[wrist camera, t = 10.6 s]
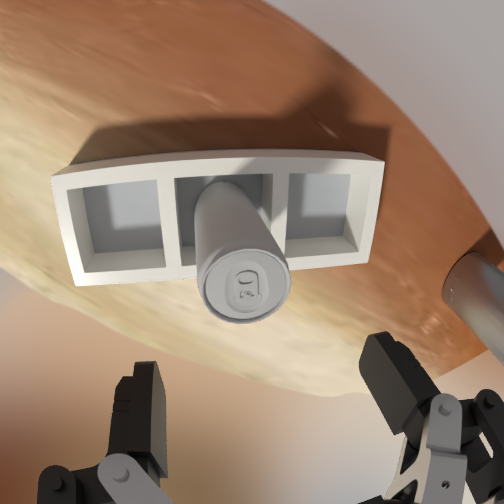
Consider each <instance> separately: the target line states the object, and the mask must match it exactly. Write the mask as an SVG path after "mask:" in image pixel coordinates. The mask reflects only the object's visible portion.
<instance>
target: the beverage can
mask: <svg viewBox="0 0 504 504" xmlns="http://www.w3.org/2000/svg"><path fill="white" fill-rule="evenodd" d="M194 223H195V249H196V267H197V284H198V289H199V292H200V295H201V297H202V299H203V302H204V305H205V306H206V308H207V309H208V310H209V312H210V313H212V314H213V315H214V316H216V317H217V318H218V319H221V320H223V321H226V322H228V323H235V324H248V323H253V322H257V321H260V320H262V319H265V318H267V317H269V316H270V315H272V314H273V313H274V312H276V311H277V310H278V309H279V308H280V307H281V306H282V304H283V303H284V302H285V300H286V298H287V296H288V294H289V292H290V286H291V277H290V272H289V267H288V263H287V261H286V259H285V257H284V255H283V253H282V251H281V249H280V247H279V246H278V244H277V242H276V241H275V239H274V237H273V236H272V234H271V233H270V231H269V229H268V228H267V226H266V225H265V223H264V222H263V220H262V219H261V217H260V215H259V214H258V212H257V210H256V209H255V207H254V205H253V204H252V202H251V200H250V198H249V197H248V195H247V193H246V192H245V191H244V190H243V189H242V188H241V187H240V186H238V185H237V184H234V183H231V182H218V183H214V184H212V185H210V186H208V187H207V188H206V189H205V190H204V191H203V192H202V193H201V194H200V196H199V197H198V199H197V202H196V204H195V210H194Z"/></svg>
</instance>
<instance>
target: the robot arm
mask: <svg viewBox="0 0 504 504" xmlns="http://www.w3.org/2000/svg"><path fill="white" fill-rule="evenodd" d="M442 296H443V300H444V302H445V303H446V304H447V305H448V306H449V307H450V308H451V309H452V310H453V311H454V312H455V313H456V314H457V315H458V316H459V318H460V319H461V320H462V321H463V322H464V323H465V324H466V325H467V326H468V327H469V328H470V329H471V330H472V331H473V332H474V334H475V335H476V336H477V337H478V338H479V339H480V340H481V341H482V342H483V343H484V344H485V346H486V347H487V348H488V349H489V350H490V351H491V352H492V353H493V355H494V356H495V357H496V358H497V359H498V360H499V361H500V363H501V364H502V365H503V366H504V272H502V271H501V270H500V269H499V268H497V267H496V266H495V265H494V264H492V263H491V262H490V261H488V260H487V259H486V258H484V257H483V256H482V255H480V254H479V253H477V252H471V253H469V254H467V255H465V256H464V257H462V258H461V259H460V260H459V261H458V262H457V263H456V265H455V266H454V267H453V269H452V270H451V271H450V273H449V275H448V277H447V279H446V281H445V284H444V287H443V293H442ZM420 365H421V364H420V363H419V362H418V360H417V359H415V356H414V355H413V353H412V352H411V351H410V349H409V348H408V347H406V346H405V345H404V344H402V343H401V342H399V341H395V340H394V339H393V337H392V336H391V335H390V333H389V332H387V331H384V332H380V333H375V334H371V335H369V336H368V337H367V339H366V342H365V345H364V348H363V351H362V354H361V357H360V360H359V370H360V373H361V376H362V377H363V379H364V381H365V383H366V385H367V386H368V388H369V390H370V392H371V394H372V395H373V397H374V399H375V401H376V403H377V405H378V406H379V408H380V410H381V412H382V414H383V416H384V418H385V419H386V421H387V423H388V425H389V427H390V429H391V431H392V432H393V434H394V435H396V434H399V433H402V432H404V433H405V435H406V436H405V438H404V440H403V445H402V449H401V454H400V458H399V463H398V466H397V470H396V474H395V477H394V480H393V481H392V483H391V485H390V486H389V488H388V490H387V492H386V495H385V498H384V499H383V498H382V496H381V495H379V496H377V497H374V498H372V499H369V500H367V501H364V502H361V503H358V504H462V499H463V493H464V486H465V480H466V483H467V485H468V487H469V489H470V491H471V493H472V495H473V498H474V500H475V502H476V504H504V402H503V401H502V399H501V398H500V396H499V395H498V394H497V393H496V392H494V391H493V390H490V389H483V390H481V391H480V392H479V393H478V394H477V396H476V397H475V398H474V399H467V400H457V398H455V397H454V396H452V395H450V394H442V393H441V392H440V391H439V390H438V388H437V387H436V385H435V384H434V383H433V381H432V380H431V378H430V377H429V375H428V374H427V373H426V371H425V370H424V368H423V367H422V366H420ZM482 432H483V434H484V436H485V437H486V439H487V441H488V443H489V444H490V446H491V448H492V450H493V458H491V457H490V455H489V453H488V451H487V450H486V448H485V446H484V444H483V443H482V441H481V439H480V437H479V435H480V433H482ZM160 478H168V471H167V445H166V395H165V389H164V385H163V382H162V378H161V375H160V372H159V368H158V365H157V362H156V361H146V362H135V365H134V372H133V376H123V377H122V379H121V380H120V382H119V383H118V385H117V387H116V389H115V396H114V404H113V413H112V418H111V428H110V436H109V446H108V452H107V454H106V456H105V458H104V459H103V460H102V461H101V462H100V463H99V464H98V465H96V466H94V467H90V468H85V469H80V470H75V471H69V470H68V469H66V468H64V467H62V466H58V465H53V466H49V467H47V468H46V469H44V470H43V471H42V473H41V474H40V477H39V482H38V495H37V504H175V503H174V502H172V500H171V499H170V498H169V497H167V495H166V494H165V493H164V492H163V491H162V490H161V489H160Z"/></svg>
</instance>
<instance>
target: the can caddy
mask: <svg viewBox="0 0 504 504" xmlns="http://www.w3.org/2000/svg"><path fill="white" fill-rule="evenodd" d="M384 164H385V162H384V161H382V160H379V159H377V158H374V157H372V156H369V155H367V154H364V153H362V152H351V151H334V150H312V149H222V150H200V151H183V152H170V153H158V154H147V155H137V156H128V157H120V158H112V159H104V160H97V161H90V162H83V163H77V164H71V165H68V166H66V167H65V168H63V169H62V170H60V171H58V172H57V173H55V174H54V175H52V176H50V177H51V184H52V190H53V195H54V201H55V206H56V211H57V216H58V221H59V225H60V230H61V234H62V238H63V242H64V246H65V250H66V254H67V258H68V261H69V265H70V268H71V272H72V275H73V279H74V282H75V285H76V286H87V285H105V284H121V283H137V282H152V281H166V280H180V279H193V278H197V267H196V249H195V223H194V210H195V204H196V202H197V199H198V197H199V196H200V194H201V193H202V192H203V191H204V190H205V189H206V188H207V187H208V186H210V185H212V184H214V183H218V182H231V183H234V184H237V185H238V186H240V187H241V188H242V189H243V190H244V191H245V192H246V193H247V195H248V197H249V198H250V200H251V202H252V204H253V205H254V207H255V209H256V210H257V212H258V214H259V215H260V217H261V219H262V220H263V222H264V223H265V225H266V226H267V228H268V229H269V231H270V233H271V234H272V236H273V237H274V239H275V241H276V242H277V244H278V246H279V247H280V249H281V251H282V253H283V255H284V257H285V259H286V261H287V263H288V267H289V270H299V269H310V268H320V267H330V266H340V265H350V264H360V263H368V259H369V254H370V249H371V244H372V239H373V234H374V229H375V223H376V217H377V212H378V206H379V199H380V193H381V186H382V179H383V172H384Z"/></svg>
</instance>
